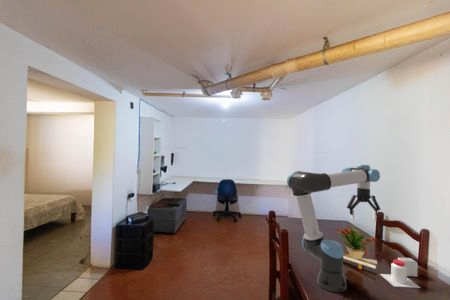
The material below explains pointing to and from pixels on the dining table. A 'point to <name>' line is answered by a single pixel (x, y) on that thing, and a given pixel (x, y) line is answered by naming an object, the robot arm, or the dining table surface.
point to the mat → (395, 284)
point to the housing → (410, 266)
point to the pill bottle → (399, 271)
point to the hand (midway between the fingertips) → (363, 220)
